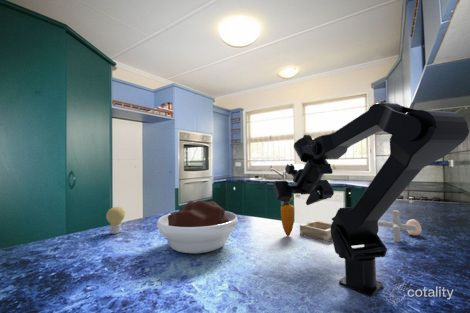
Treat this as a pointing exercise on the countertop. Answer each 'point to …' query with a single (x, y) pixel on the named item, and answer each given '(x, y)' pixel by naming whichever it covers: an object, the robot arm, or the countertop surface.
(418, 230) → the egg
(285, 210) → the carrot
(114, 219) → the light bulb
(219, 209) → the bowl of chocolate chunks
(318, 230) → the socket block
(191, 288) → the countertop surface
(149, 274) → the countertop surface
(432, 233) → the countertop surface
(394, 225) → the pipe connector
